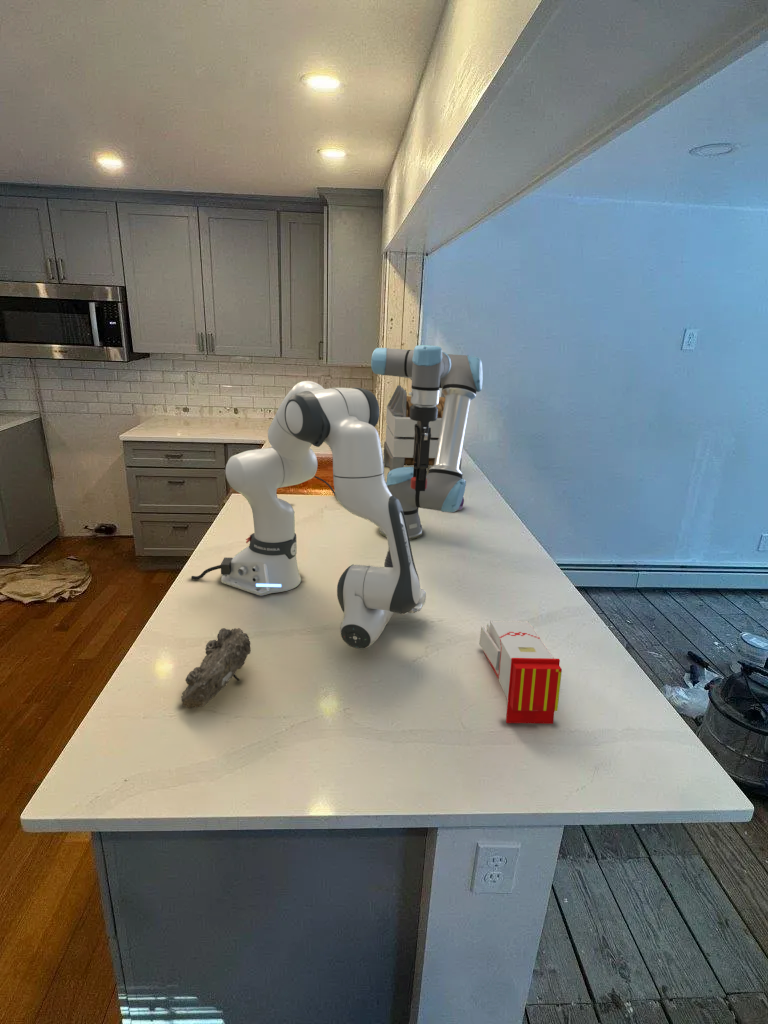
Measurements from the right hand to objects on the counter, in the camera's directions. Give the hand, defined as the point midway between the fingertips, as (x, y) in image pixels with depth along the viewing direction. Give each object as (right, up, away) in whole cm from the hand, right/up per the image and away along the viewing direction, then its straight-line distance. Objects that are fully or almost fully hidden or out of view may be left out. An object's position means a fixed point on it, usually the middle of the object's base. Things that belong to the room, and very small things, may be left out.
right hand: (418, 487), depth 161 cm
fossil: (-44, -42, -42) cm, 74 cm away
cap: (0, +2, -1) cm, 2 cm away
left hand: (-7, -25, -10) cm, 28 cm away
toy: (+18, -44, -38) cm, 60 cm away
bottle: (-8, -32, -8) cm, 34 cm away
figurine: (+18, -6, +68) cm, 70 cm away
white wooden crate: (+7, +12, +114) cm, 115 cm away
